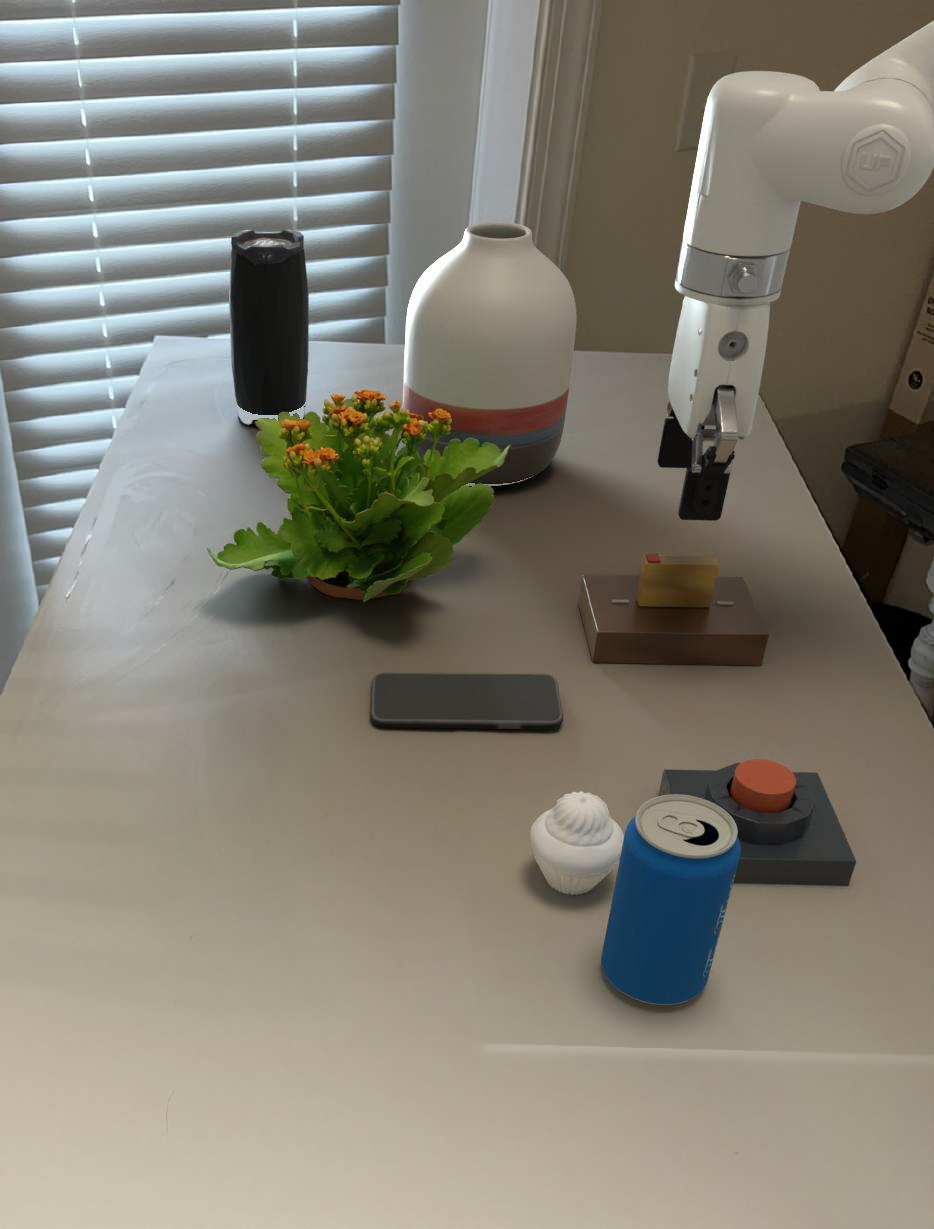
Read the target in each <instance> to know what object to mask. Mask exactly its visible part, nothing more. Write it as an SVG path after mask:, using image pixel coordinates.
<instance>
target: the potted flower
mask: <svg viewBox="0 0 934 1229" xmlns="http://www.w3.org/2000/svg"><path fill="white" fill-rule="evenodd" d="M329 396H330V397H331V398H330V399H331V400H332V402H333V403H332V402H330V400H329V399H328V398H324V400H323V405H324V407H323V408H322V413H323V415H322V416H319V415H318V414H317V413H316V412H315V411H311V410H310V411H308V412H307V413H306V414H304V419H300V417H299V415H298V414H297V413H295V414H293V416H290V414H289V413H288V412H281V413H280V414H279V415H278V421H277V420H276V419H275V418H273V419H269V418H257V421H254V424H255V426H256V427H257V428H258V429H259V431H257V433H256V436H255V439H256V442H257V444H258V445H259V446H260V448H259V450H260V453H262V454H263V455H265V456H267V457H265V458H263V459H262V460H261V461H260V467H261V468H262V470H263V471H264V472H265V473H266V474H268V477H269V478H271V479H274V480H275V479H276V481H275V484H276V486H277V487H278V488H279V489H281V490H282V491H283V492H284V493H285V494H289V497H287V501H286V505H287V510H288V512H289V515H290V516H291V518H287V517H283V519H282V523H281V524H280V526H279V528H278V530H277V533H276V532H275V531H274V530H272V528H270V527H267V525H266V524H265V523H264V522H262V521H258V522H257V523H256V527H255V528H256V529H255V531H254V530H253V529H252V528H251V527H249V526H247V527H246V529H245V528H239V529H236V531H234V533H233V541H234V543H231V542H230V543H226V544H225V545H224V546H223V549H222V550H220V551H219V552H218V553H217V555H216V554H215V553H214V551H212V550H211V548H210V547H207V548H206V549H207V553H208V555H209V557H211V560H212V561H213V562H214V564H215V565H216V566H217V567H220V568H223V567H224V568H225V569H227V570H229V571H233V570H238V569H241V568H244V569H247V570H248V569H249V570H251V571H253V572H259V571H262V570H264V569H265V570H266V571H269V569H271V568H272V571H271V572H270V576H271V577H273V578H274V579H275V578H276V579H279V580H285V579H290V580H291V579H295V580H305V579H307V580H308V582H309V583H310V585H311V586H313V587H314V588H315V589H317V591H318V592H321V593H323V594H325V595H327V596H329V597H333V598H338V599H339V598H342V599H349V600H357V601H362V602H363V603H365V602H367V601H369V600H371V599H378V598H382V597H387V596H389V595H390V596H391V595H392V596H393V595H397V594H399V593H400V592H402V590H403V588H405V587H407V585H408V582H409V581H413V580H419V579H424V578H428V577H430V576H434V575H436V574H439V573H440V572H442V571H444V570H446V569H447V568H448V567H449V565H450V564H451V563H453V561H454V560H455V556H453V554H454V552H455V551H454V546H455V545H457V544H459V543H460V542H461V541H462V540H463V539H464V538H465V537H466V536H467V535H469V534H470V533H471V532H472V531H473V530H474V529H475V528H476V527H477V526H478V525H479V524H480V523H482V522H483V521H484V518H486V516H487V515H488V514H489V513H490V512H491V510H492V506H494V503H495V499H496V498H495V495H494V494H495V490H494V487H490V486H488V485H483V484H481V483H480V484H475V485H473V486H472V487H469V486H464V485H466V484H468V483H469V482H471V481H473V480H475V479H477V478H479V477H480V476H482V475H484V474H486V473H488V472H490V471H492V470H494V469H496V468H498V467H500V466H502V465H503V463H504V459H505V457H506V455H507V453H508V449H509V448H510V446H511V445H508V446H507V447H506V448H505V450H504V451H503V452H502V449H500V450H499V448H498V447H497V446H496V445H495V444H492V443H488V442H485V443H484V444H482V446H481V447H479V441H478V440H477V439H474V438H467V439H465V440H464V442H463V443H462V444H461V442H460V440H459V439H452V440H451V441H450V442H449V444H448V447H447V446H446V447H445V449H444V451H443V456H442V457H441V455H440V453H439V452H438V451H437V450H434V449H435V446H436V443H437V441H438V440H439V439H440V438H441V437H442V435H444V434H450V432H449V431H450V430H451V428H450V423H451V422H452V419H451V416H450V413H446V412H447V411H443V409H436V410H435V412H433V413H430V412H429V413H428V415H429V417H431V418H433V419H434V421H432V422H431V423H430V424H428V422H427V421H423V419H424V418H423V417H422V416H421V415H417V414H413V413H409V410H406V408H403V407H402V401H401V400H396V401H394V403H391V404H390V403H388V404H387V406H388V408H389V409H390V410H391V412H389V411H386V406H385V402H383V401H386V400H387V399H388V397H387V396H385V394H384V393H383V394H382V393H381V392H380V391H378V390H377V391H376V390H375V389H373V390H369V389H361V390H360V391H358V390H357V391H354V392H353V393H352V394H351V396H350V398H346V397H347V396H346V395H343V394H337V393H335V394H333V393H332V394H330V395H329ZM345 398H346V399H345ZM378 413H381V414H380V415H377V414H378ZM376 415H377V416H376ZM321 420H322V422H321ZM391 430H392V432H391V435H390V433H388V432H390V431H391ZM386 432H387V433H386ZM424 432H426V433H430V435H429V437H430V438H431V440H433V441H434V443H433V446H432V449H431V450H430V449H428V450H427V451H426V453H425V455H424V457H423V460H422V461H423V462H422V464H421V458H420V457H419V455H418V452H417V451H418V450H419V447H417V448H416V449H414V446H415V445H416V444H417V443H420V442H422V441H424V440H426V439H425V437H426V433H425V434H423V433H424ZM438 433H439V435H438ZM435 435H436V436H435ZM437 437H438V438H437ZM401 442H402V444H404V445H405V446H402V448H400V449H399V450H398V448H399V445H400V443H401ZM406 445H407V446H406ZM397 450H398V451H397ZM396 452H397V453H396ZM501 452H502V453H501Z"/></svg>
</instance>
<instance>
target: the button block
mask: <svg viewBox="0 0 934 1229" xmlns="http://www.w3.org/2000/svg"><path fill="white" fill-rule="evenodd" d="M741 763H742V762H735V763H732V764H730V765H727V766H724V767H721V768H718V769H715V770H714V769H713V770H712V769H711V770H710V769H709V770H708V769H671V768H669V769H668V768H667V769H665V768H664V769H663V770H662V776H661V781H660V785H659V790H658V796H663V795H672V794H679V795H689V796H694V797H698V798H702V799H705V800H707V801H710V802H712V803H714V804H716V805H718V806H719V807H721V808H722V809H724V810H725V811H726V812H727V813H728V814H729V815H730V816H731V817H732V818H733V820H734V821H735V823H736V825H737V831H738V834H737V837H738V839H739V842H740V847H741V854H740V859H739V862H738V866H737V870H736V874H735V878H734V882H733V884H755V885H756V884H759V885H760V884H761V885H797V886H800V885H803V886H841V887H842V886H843V887H844V886H846V887H848V886H849V885H850V882H851V879H852V876H853V873H854V870H855V867H856V864H857V859H856V857H855V855H854V852H853V850H852V848H851V845H850V844H849V841H848V838H847V836H846V834H845V832H844V830H843V827H842V825H841V823H840V821H839V818H838V815H837V813H836V812H835V809H834V807H833V804H832V803H831V800H830V797H829V796H828V793H827V791H826V788H825V787H824V784H823V782H822V779H821V777H820V775H819V773H818V772H816V771H815V772H813V771H810V772H807V771H804V772H803V771H792V772H793V774H794V775H795V778H796V786H795V789H794V793H793V796H792V800H791V803H790V806H789V807H788V808H787V809H786V810H784V811H782V812H779V813H760V812H756V811H753V810H750V809H747V808H744V807H742V806H740V805H739V804H738V803H737V802H735V801H734V800H733V799H732V797H731V794H730V790H731V786H732V782H733V777H734V773H735V769H736V767H737V766H738V765H739V764H741Z"/></svg>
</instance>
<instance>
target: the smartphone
mask: <svg viewBox="0 0 934 1229" xmlns="http://www.w3.org/2000/svg"><path fill="white" fill-rule="evenodd" d="M559 688H560V687H559V682H558V680H557V678H556V677H555V676H554V675H551V674H549V673H517V672H516V673H515V672H514V673H508V672H507V673H506V672H505V673H504V672H503V673H502V672H501V673H500V672H496V673H495V672H488V673H487V672H394V671H393V672H392V671H391V672H389V671H388V672H386V671H384V672H379V673H376V674H375V675H374V676H373V677H372V679H371V688H370V690H371V691H370V692H371V693H370V714H369V715H370V720H371V722H372V723H373V725H374V726H376V727H379V728H398V729H399V728H402V729H405V728H406V729H408V728H409V729H410V728H411V729H478V730H479V729H481V730H482V729H485V730H487V729H488V730H493V729H494V730H555V729H558V728H560V727H561V726H562V724H563V722H564V712H563V707H562V701H561V693H560V689H559Z"/></svg>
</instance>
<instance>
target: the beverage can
mask: <svg viewBox="0 0 934 1229" xmlns="http://www.w3.org/2000/svg"><path fill="white" fill-rule="evenodd" d="M737 834H738V831H737V825H736V823H735V821H734V820H733V818H732V817H731V816H730V815H729V814H728V813H727V812H726V811H725V810H724V809H722V808H721V807H719V806H718V805H716V804H714V803H712V802H710V801H707V800H705V799H702V798H698V797H694V796H689V795H679V794H672V795H663V796H659V795H658V796H655V797H653V798H650V799H648V800H646V801H645V802H644V803H642V804H641V805H640V806H639V807H638V809H637V811H636V814H635V816H633V817H632V818H631V819H630V820H629V822H628V824H627V826H626V828H625V831H624V834H623V835H624V840H623V845H622V850H621V856H620V859H619V860H618V867H617V872H616V877H615V882H614V889H613V893H612V898H611V904H610V909H609V914H608V919H607V925H606V931H605V935H604V940H603V947H602V952H601V958H600V963H601V968H602V971H603V974H604V976H605V977H606V979H607V980H608V981H609V983H610V984H611V985H612V986H613V987H615V988H616V989H617V990H618V991H620V993H623V994H624V995H626V996H628V997H630V998H631V999H634V1000H636V1001H639V1002H642V1003H646V1004H650V1005H657V1006H658V1005H659V1006H672V1005H679V1004H682V1003H685V1002H688V1001H690V1000H693V999H695V998H696V997H697V996H699V995H700V994H701V993H702V992H703V990H704V989H705V988H706V986H707V984H708V981H709V978H710V973H711V970H712V965H713V962H714V957H715V953H716V951H717V947H718V943H719V938H720V934H721V932H722V927H723V923H724V920H725V916H726V912H727V909H728V908H727V907H728V905H729V901H730V897H731V892H732V889H733V885H734V883H733V882H734V878H735V874H736V870H737V866H738V862H739V859H740V854H741V847H740V842H739V839H738V837H737Z"/></svg>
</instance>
